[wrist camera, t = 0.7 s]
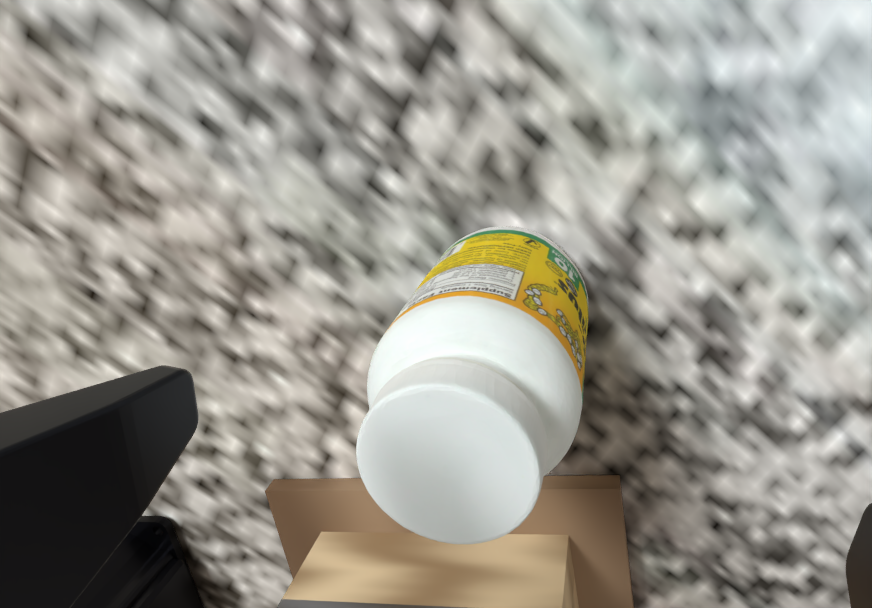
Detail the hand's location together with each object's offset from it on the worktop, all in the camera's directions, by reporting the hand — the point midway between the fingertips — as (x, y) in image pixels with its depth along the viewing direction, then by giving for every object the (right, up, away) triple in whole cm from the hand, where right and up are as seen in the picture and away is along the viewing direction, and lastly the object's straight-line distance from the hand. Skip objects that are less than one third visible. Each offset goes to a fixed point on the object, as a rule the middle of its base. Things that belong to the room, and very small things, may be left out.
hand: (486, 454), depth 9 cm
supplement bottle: (+2, +2, +14) cm, 14 cm away
